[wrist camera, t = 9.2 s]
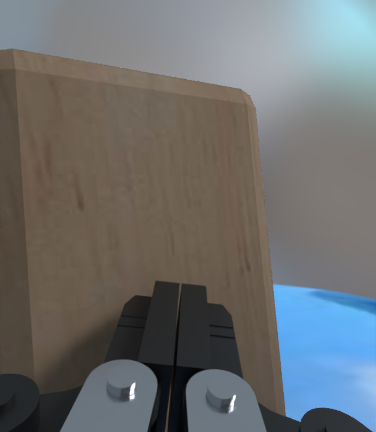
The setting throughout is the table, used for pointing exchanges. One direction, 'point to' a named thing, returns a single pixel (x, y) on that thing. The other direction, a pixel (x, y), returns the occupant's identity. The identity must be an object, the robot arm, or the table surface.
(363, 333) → the table surface
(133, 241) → the block
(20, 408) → the robot arm
